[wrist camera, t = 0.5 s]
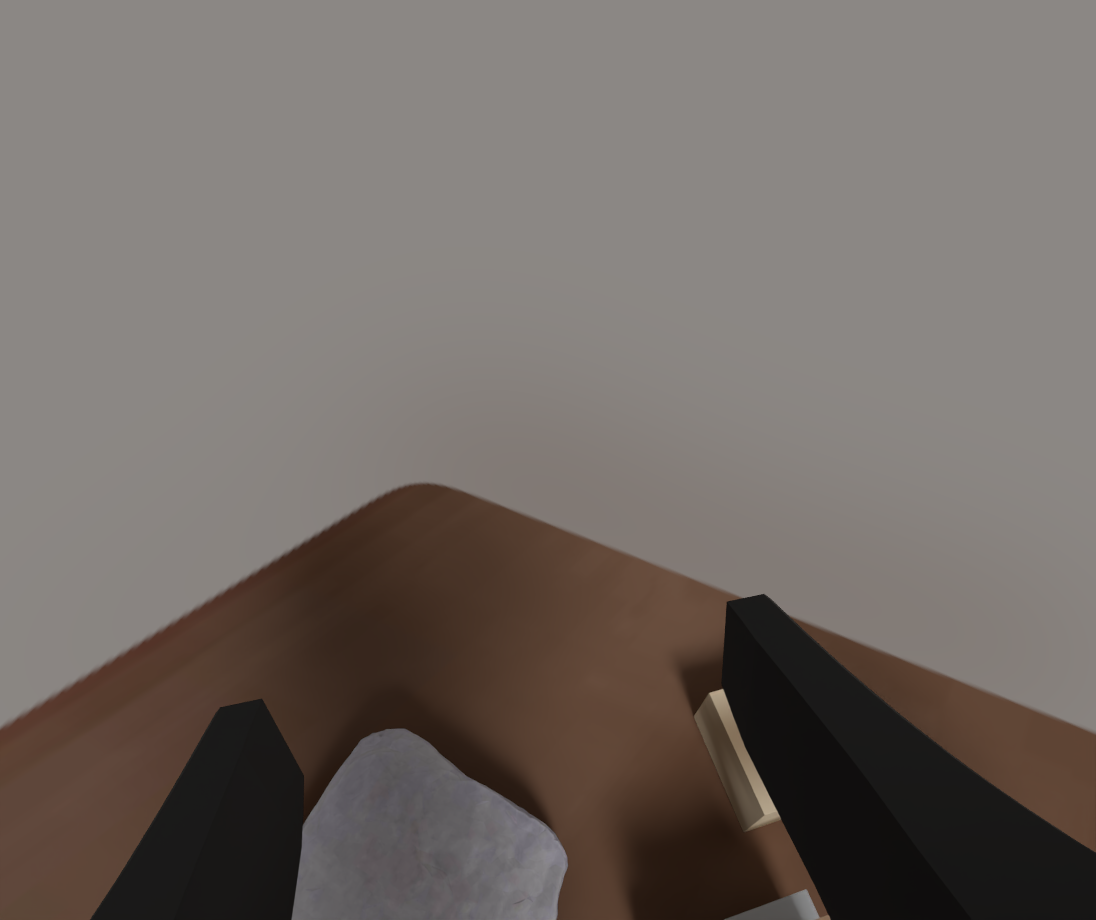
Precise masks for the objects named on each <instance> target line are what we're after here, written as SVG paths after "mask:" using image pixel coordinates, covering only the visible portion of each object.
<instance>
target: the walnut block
mask: <svg viewBox="0 0 1096 920" xmlns="http://www.w3.org/2000/svg"><path fill="white" fill-rule="evenodd" d="M816 920H831V919H830V917H829V915H827V916H824V917H821V918H818V919H816Z"/></svg>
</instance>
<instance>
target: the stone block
mask: <svg viewBox="0 0 1096 920" xmlns="http://www.w3.org/2000/svg"><path fill="white" fill-rule="evenodd" d="M567 867H568V863H567V855H566V853H565V851H564V848H563V846H562V845H561V843H560V841H559V839H558V837H557V836H556V834H555V833H554V832H553V831H552V830H551V829H550V828H549V827H548V826H547V825H546V824H545V823H544V822H542V821H541V820H539V819H537V818H536V817H534V816H533V815H531V814H529V813H528V812H527V811H526V810H525V809H523V808H521V807H519V806H517V805H516V804H515V803H513V802H512V801H510V800H508V799H507V798H505V797H503V796H502V795H500V794H498V793H497V792H495V791H493V790H491V789H490V788H488V787H487V786H485V785H483V784H481V783H478V782H477V781H475V780H473V779H471V778H469V777H467V776H466V775H465V774H464V773H462V772H461V771H460V770H459V769H458V768H457V767H456V766H455V765H454V764H452V763H451V762H450V761H449V760H447V759H446V758H445V757H443V756H442V755H441V754H440V753H439V752H438V751H437V750H436V749H435V748H434V747H433V746H432V745H431V744H430V743H429V742H427V741H426V740H424V739H422V738H421V737H419V736H418V735H416V734H413V733H412V732H410V731H408V730H407V729H386V730H384V731H380V732H377V733H372V734H370V735H369V736H367V737H365V738H363V739H362V740H360V742H359V743H358V745H357V746H356V747H355V749H354V750H353V752H352V753H351V754H350V756H349V757H348V758H347V759H346V761H345V762H344V763H343V765H342V766H341V767H340V769H339V770H338V771H337V773H336V774H335V775H334V777H333V778H332V780H331V781H330V783H329V785H328V787H327V788H326V790H325V791H324V793H323V795H322V796H321V798H320V800H319V801H318V803H317V804H316V806H315V807H314V809H313V810H312V812H311V813H310V815H309V816H308V818H307V819H306V821H305V823H304V824H303V831H302V849H301V857H300V864H299V872H298V879H297V886H296V893H295V900H294V907H293V913H292V920H556V918H557V915H558V898H559V892H560V889H561V886H562V883H563V878H564V874H565V872H566V870H567Z"/></svg>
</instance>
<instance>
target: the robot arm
mask: <svg viewBox="0 0 1096 920" xmlns="http://www.w3.org/2000/svg"><path fill="white" fill-rule="evenodd" d="M722 687H723V690H724V693H725V695H726V698H727V701H728V704H729V706H730V709H731V712H732V715H733V717H734V720H735V723H736V725H737V728H738V730H739V733H740V736H741V738H742V741H743V743H744V746H745V748H746V750H747V752H748V754H749V756H750V758H751V760H752V762H753V764H754V766H755V768H756V770H757V772H758V774H759V776H760V778H761V780H762V782H763V784H764V786H765V788H766V790H767V792H768V794H769V796H770V798H771V800H772V802H773V804H774V806H775V808H776V810H777V812H778V814H779V816H780V818H781V820H782V822H783V824H784V826H785V828H786V830H787V832H788V834H789V835H790V837H791V839H792V841H793V843H794V845H795V847H796V849H797V851H798V853H799V855H800V857H801V859H802V861H803V863H804V865H805V867H806V869H807V871H808V873H809V875H810V877H811V879H812V881H813V883H814V885H815V887H816V889H817V891H818V893H819V895H820V897H821V900H822V902H823V904H824V906H825V908H826V910H827V913H828V915H829V917H830V919H831V920H1096V852H1094V851H1092V850H1091V849H1089V848H1087V847H1086V846H1084V845H1082V844H1081V843H1079V842H1078V841H1076V840H1074V839H1073V838H1071V837H1070V836H1068V835H1067V834H1065V833H1064V832H1062V831H1061V830H1059V829H1058V828H1056V827H1054V826H1053V825H1051V824H1050V823H1048V822H1047V821H1045V820H1044V819H1042V818H1041V817H1039V816H1038V815H1036V814H1035V813H1033V812H1032V811H1030V810H1029V809H1027V808H1026V807H1024V806H1023V805H1021V804H1020V803H1018V802H1017V801H1015V800H1014V799H1013V798H1011V797H1010V796H1008V795H1007V794H1005V793H1004V792H1002V791H1001V790H1000V789H998V788H997V787H995V786H994V785H992V784H991V783H989V782H988V781H987V780H985V779H984V778H982V777H981V776H980V775H978V774H977V773H976V772H974V771H973V770H971V769H970V768H969V767H967V766H966V765H965V764H963V763H962V762H961V761H959V760H958V759H957V758H955V757H954V756H953V755H951V754H950V753H949V752H947V751H946V750H945V749H943V748H942V747H941V746H940V745H938V744H937V743H936V742H934V741H933V740H932V739H931V738H929V737H928V736H927V735H925V734H924V733H923V732H921V731H920V730H919V729H918V728H916V727H915V726H914V725H913V724H911V723H910V722H909V721H908V720H906V719H905V718H904V717H903V716H901V715H900V714H899V713H898V712H897V711H895V710H894V709H893V708H892V707H890V706H889V705H888V704H887V703H886V702H885V701H883V700H882V699H881V698H880V697H879V696H877V695H876V694H875V693H874V692H873V691H872V690H870V689H869V688H868V687H867V686H866V685H865V684H863V683H862V682H861V681H860V680H859V679H857V678H856V677H855V676H854V675H853V674H852V673H850V672H849V671H848V670H847V669H846V668H845V667H844V666H843V665H841V664H840V663H839V662H838V661H837V660H836V659H835V658H834V657H832V656H831V655H830V654H829V653H828V652H827V651H826V650H825V649H824V648H823V647H821V646H820V645H819V644H818V643H817V642H816V641H815V640H814V639H813V638H812V637H811V636H809V635H808V634H807V633H806V632H805V631H804V630H803V629H802V628H801V627H800V626H799V625H798V624H797V623H796V622H794V621H793V620H792V619H791V618H790V617H789V616H788V615H787V614H786V613H785V612H784V611H783V610H782V609H781V608H780V607H779V606H778V605H777V604H775V603H774V602H773V601H772V600H771V599H770V598H769V597H768V596H766V595H764V594H761V595H757V596H752V597H747V598H742V599H738V600H733V601H728V602H727V608H726V623H725V638H724V654H723V669H722ZM303 800H304V775H303V773H302V771H301V770H300V768H299V766H298V764H297V762H296V760H295V759H294V757H293V755H292V753H291V751H290V749H289V747H288V746H287V744H286V742H285V740H284V738H283V736H282V735H281V733H280V731H279V729H278V727H277V725H276V724H275V722H274V720H273V718H272V716H271V714H270V712H269V711H268V709H267V707H266V705H265V703H264V701H263V700H262V699H258V700H254V701H249V702H244V703H239V704H234V705H230V706H225V707H220V709H219V710H218V711H217V712H216V714H215V715H214V717H213V719H212V721H211V722H210V724H209V726H208V728H207V729H206V731H205V733H204V734H203V736H202V738H201V740H200V741H199V743H198V745H197V747H196V748H195V750H194V752H193V754H192V755H191V757H190V759H189V761H188V762H187V764H186V766H185V768H184V769H183V771H182V773H181V775H180V776H179V778H178V780H177V781H176V783H175V785H174V786H173V788H172V790H171V792H170V793H169V795H168V797H167V798H166V800H165V802H164V803H163V805H162V807H161V809H160V810H159V812H158V814H157V815H156V817H155V818H154V820H153V822H152V823H151V825H150V827H149V828H148V830H147V831H146V833H145V835H144V836H143V838H142V840H141V841H140V843H139V845H138V846H137V848H136V849H135V851H134V853H133V854H132V856H131V858H130V859H129V861H128V862H127V864H126V866H125V867H124V869H123V870H122V872H121V874H120V875H119V877H118V878H117V880H116V881H115V883H114V885H113V886H112V888H111V889H110V891H109V892H108V894H107V895H106V897H105V898H104V900H103V901H102V903H101V904H100V906H99V907H98V909H97V910H96V912H95V913H94V915H93V916H92V918H91V919H90V920H292V913H293V907H294V900H295V893H296V886H297V879H298V872H299V864H300V857H301V849H302V831H303Z"/></svg>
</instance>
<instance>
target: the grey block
mask: <svg viewBox="0 0 1096 920" xmlns="http://www.w3.org/2000/svg"><path fill="white" fill-rule="evenodd" d="M818 918H819V916H818V914H817V911H816V909H815V907H814V905H813V903H812V900H811V898H810V896H809V894H808V892H807V890H803V891H800V892H798V893H795V894H792V895H790V896H787V897H784V898H781V899H779V900H776V901H773V902H771V903H768V904H765V905H762V906H760V907H757V908H754V909H751V910H749V911H746V912H743V913H741V914H738V915H735V916H732V917H730V918H727V919H724V920H816V919H818Z"/></svg>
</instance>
